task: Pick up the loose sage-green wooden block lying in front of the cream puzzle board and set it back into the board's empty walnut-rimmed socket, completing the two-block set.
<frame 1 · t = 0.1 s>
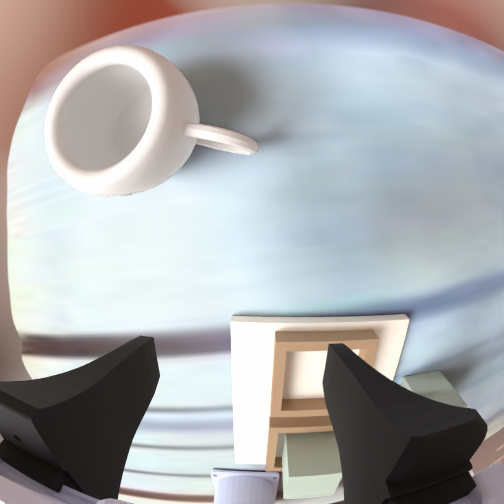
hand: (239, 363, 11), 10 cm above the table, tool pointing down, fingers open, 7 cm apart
green block: (415, 390, 23), on the table
puzzle board: (311, 402, 24), on the table
mug: (176, 137, 19), on the table
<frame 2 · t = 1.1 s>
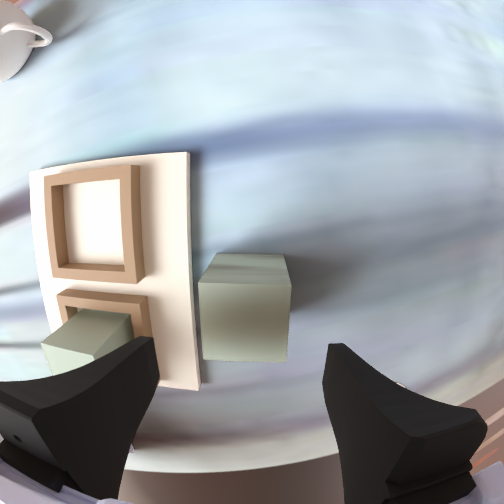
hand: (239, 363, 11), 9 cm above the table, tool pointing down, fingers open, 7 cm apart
green block: (249, 285, 20), on the table
puzzle board: (107, 279, 21), on the table
mug: (28, 52, 16), on the table
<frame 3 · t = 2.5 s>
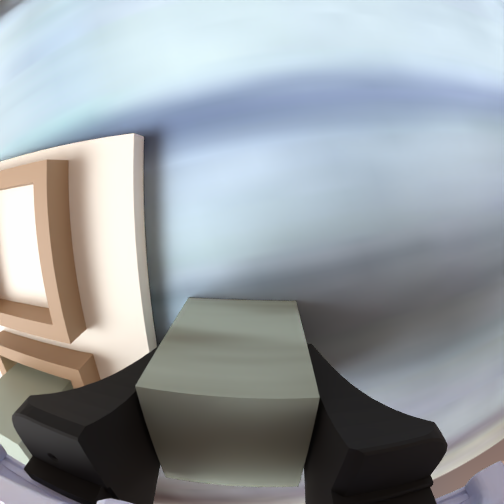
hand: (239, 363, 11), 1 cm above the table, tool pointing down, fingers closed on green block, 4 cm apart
green block: (241, 345, 13), on the table, touching gripper
puzzle board: (47, 322, 13), on the table
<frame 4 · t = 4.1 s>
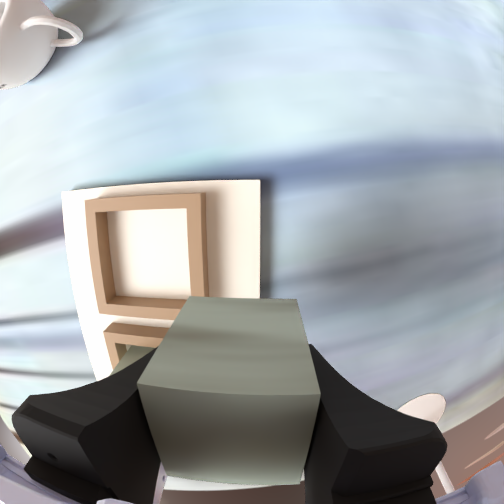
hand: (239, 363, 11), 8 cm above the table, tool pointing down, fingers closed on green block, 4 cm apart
green block: (242, 344, 13), point 7 cm above the table, touching gripper
wineglass: (414, 419, 22), on the table
puzzle board: (161, 311, 20), on the table
mug: (49, 52, 15), on the table
when the fingers open (4 cm above the table, at t = 5.9 s): green block drops 1 cm, resting on puzzle board.
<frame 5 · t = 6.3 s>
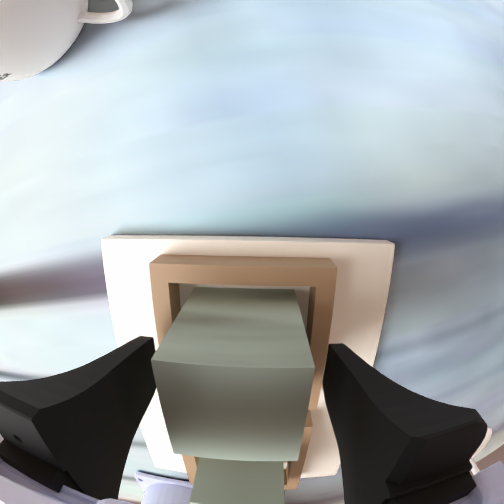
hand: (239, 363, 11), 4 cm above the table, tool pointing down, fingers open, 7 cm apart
green block: (244, 331, 14), point 1 cm above the table, touching puzzle board
puzzle board: (244, 389, 16), on the table
mug: (72, 32, 11), on the table
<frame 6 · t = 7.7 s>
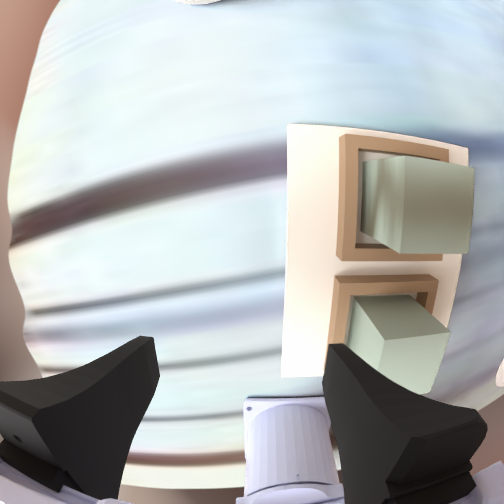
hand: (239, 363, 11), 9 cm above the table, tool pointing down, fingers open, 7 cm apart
green block: (392, 198, 17), point 1 cm above the table, touching puzzle board
puzzle board: (381, 261, 20), on the table
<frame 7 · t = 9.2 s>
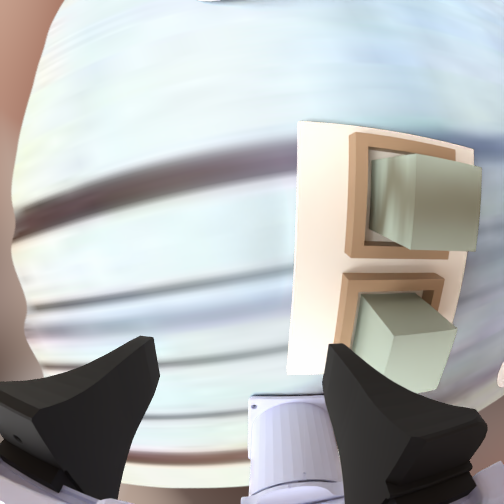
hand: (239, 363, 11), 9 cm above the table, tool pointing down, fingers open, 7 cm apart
green block: (400, 197, 17), point 1 cm above the table, touching puzzle board
puzzle board: (388, 259, 19), on the table
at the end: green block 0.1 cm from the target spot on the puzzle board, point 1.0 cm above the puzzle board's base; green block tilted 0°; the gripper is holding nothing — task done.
